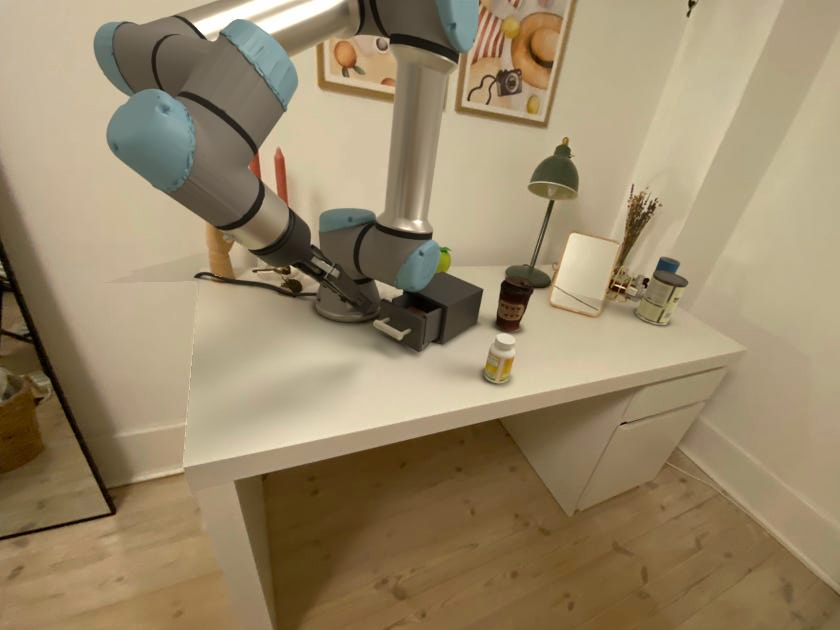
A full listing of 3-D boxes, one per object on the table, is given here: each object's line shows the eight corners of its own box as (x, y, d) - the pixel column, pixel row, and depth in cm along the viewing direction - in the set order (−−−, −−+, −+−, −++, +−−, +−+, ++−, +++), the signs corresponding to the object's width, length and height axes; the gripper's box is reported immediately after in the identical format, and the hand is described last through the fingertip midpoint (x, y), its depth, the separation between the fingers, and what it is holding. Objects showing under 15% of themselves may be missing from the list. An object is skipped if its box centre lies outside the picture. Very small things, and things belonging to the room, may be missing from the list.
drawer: (405, 360, 77) (408, 327, 73) (364, 337, 81) (365, 305, 77) (455, 331, 90) (460, 301, 86) (418, 312, 95) (421, 283, 90)
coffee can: (640, 307, 127) (658, 267, 119) (670, 319, 123) (691, 279, 115) (631, 315, 120) (650, 274, 112) (663, 329, 116) (685, 287, 108)
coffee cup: (520, 338, 95) (534, 291, 88) (489, 330, 96) (499, 283, 88) (524, 323, 102) (536, 278, 95) (494, 315, 103) (504, 270, 96)
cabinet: (442, 344, 86) (447, 306, 81) (400, 322, 91) (403, 285, 85) (476, 323, 97) (483, 288, 92) (438, 305, 102) (442, 271, 97)
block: (425, 330, 86) (427, 313, 83) (413, 337, 83) (414, 320, 80) (410, 323, 87) (412, 306, 85) (397, 329, 84) (398, 312, 82)
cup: (662, 301, 136) (681, 261, 127) (658, 306, 131) (679, 265, 122) (643, 294, 138) (661, 255, 130) (639, 299, 133) (658, 258, 125)
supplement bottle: (483, 382, 77) (492, 343, 72) (483, 367, 82) (492, 329, 76) (508, 386, 78) (519, 347, 72) (507, 370, 82) (517, 333, 77)
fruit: (427, 267, 122) (430, 237, 117) (452, 276, 120) (457, 245, 115) (412, 275, 115) (415, 243, 110) (439, 284, 113) (443, 252, 107)
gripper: (218, 235, 49) (330, 310, 71) (282, 269, 44) (381, 339, 66) (252, 189, 50) (352, 278, 72) (318, 217, 45) (403, 303, 67)
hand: (366, 307), depth 69 cm, fingers closed
